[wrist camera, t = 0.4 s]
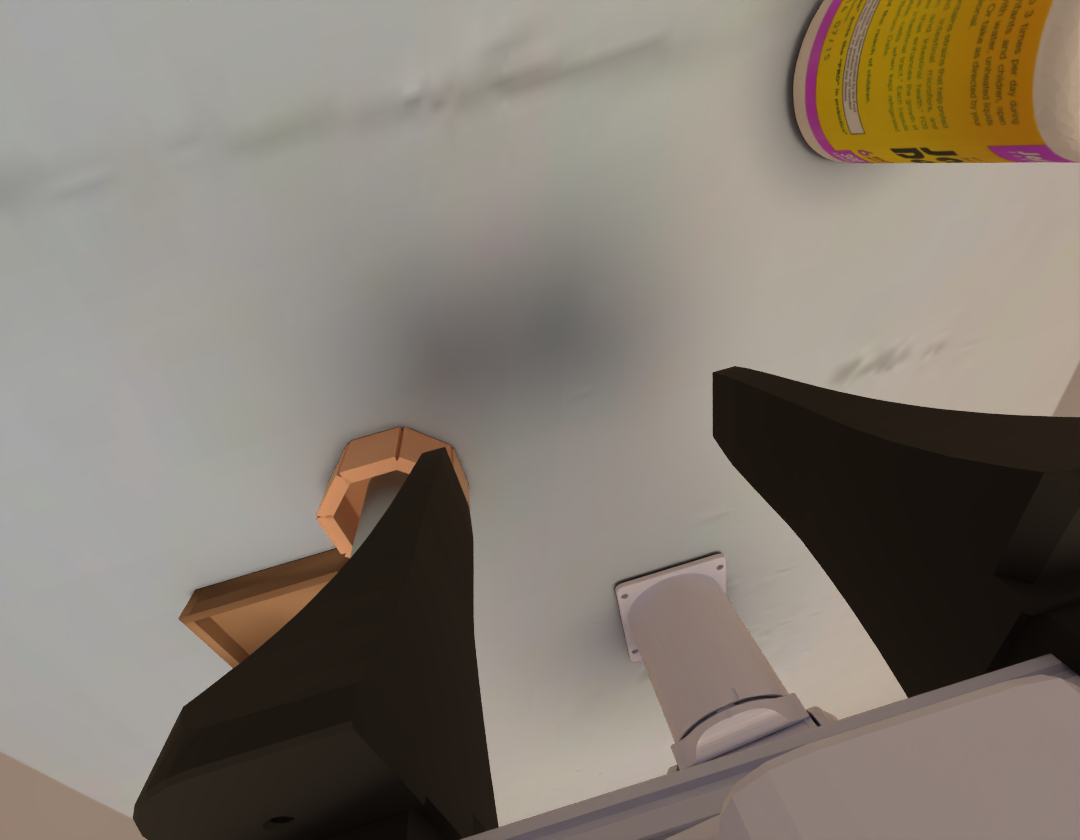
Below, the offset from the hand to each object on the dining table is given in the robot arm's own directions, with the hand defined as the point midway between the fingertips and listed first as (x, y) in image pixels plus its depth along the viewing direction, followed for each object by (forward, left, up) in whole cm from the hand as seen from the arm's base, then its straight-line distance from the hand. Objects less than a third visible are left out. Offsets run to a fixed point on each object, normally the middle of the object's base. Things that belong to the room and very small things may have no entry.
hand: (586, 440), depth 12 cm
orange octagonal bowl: (-7, +9, -10) cm, 15 cm away
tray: (-16, +17, -10) cm, 25 cm away
